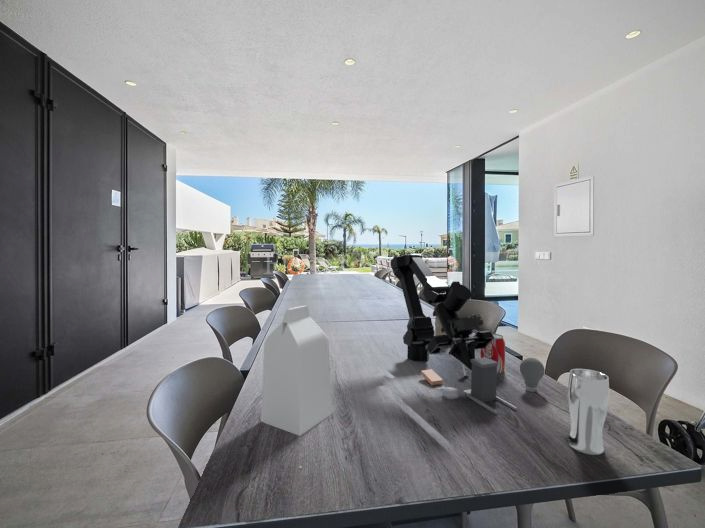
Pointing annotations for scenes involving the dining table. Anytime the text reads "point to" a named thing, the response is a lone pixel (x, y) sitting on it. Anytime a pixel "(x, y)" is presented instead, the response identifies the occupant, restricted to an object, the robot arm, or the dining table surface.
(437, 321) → the carving
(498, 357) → the soda can
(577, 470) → the dining table surface
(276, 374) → the milk
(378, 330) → the dining table surface
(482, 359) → the grey lidded box
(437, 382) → the rocker
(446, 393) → the panel
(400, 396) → the dining table surface
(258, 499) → the dining table surface
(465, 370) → the lever
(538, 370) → the light bulb
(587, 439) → the beer glass
